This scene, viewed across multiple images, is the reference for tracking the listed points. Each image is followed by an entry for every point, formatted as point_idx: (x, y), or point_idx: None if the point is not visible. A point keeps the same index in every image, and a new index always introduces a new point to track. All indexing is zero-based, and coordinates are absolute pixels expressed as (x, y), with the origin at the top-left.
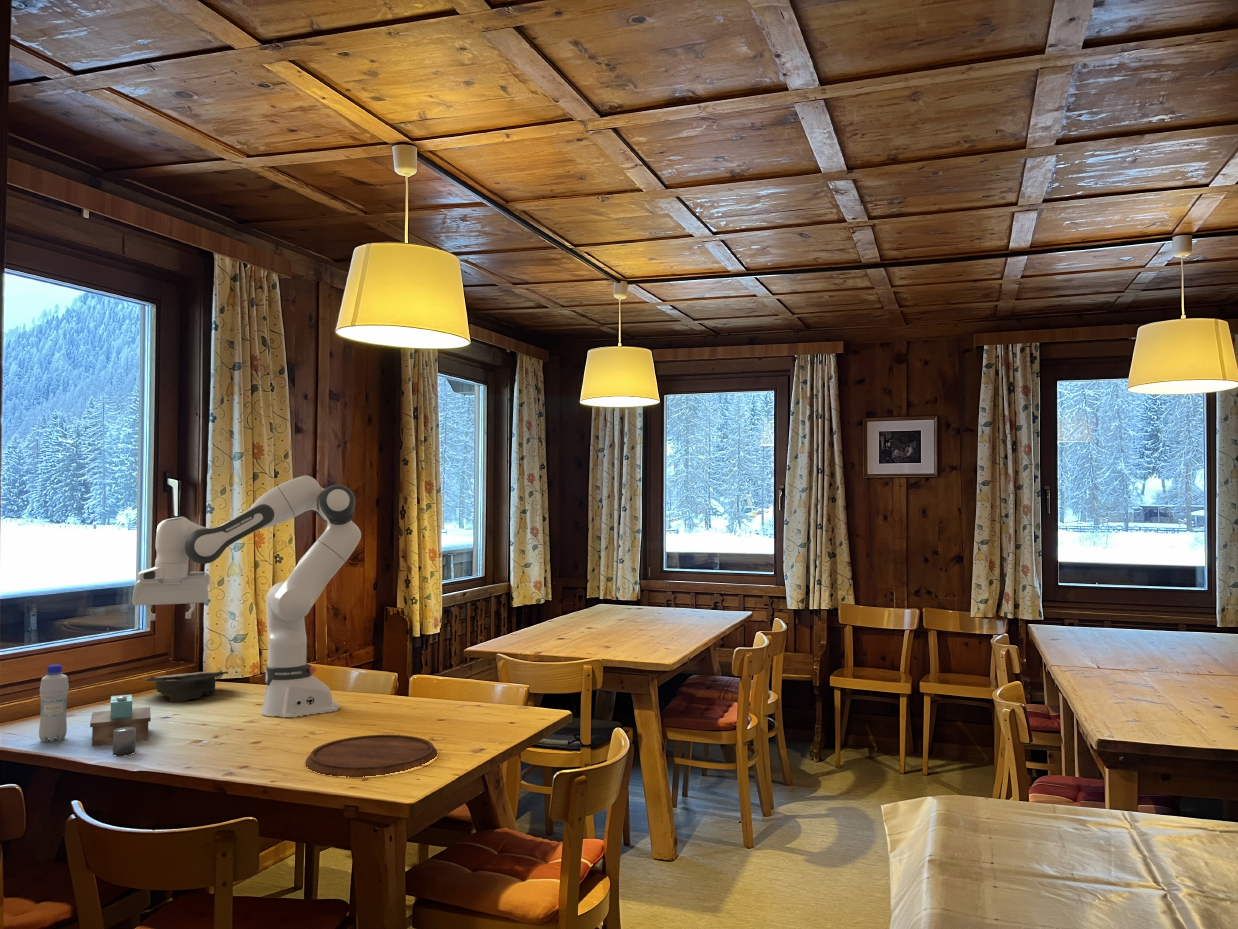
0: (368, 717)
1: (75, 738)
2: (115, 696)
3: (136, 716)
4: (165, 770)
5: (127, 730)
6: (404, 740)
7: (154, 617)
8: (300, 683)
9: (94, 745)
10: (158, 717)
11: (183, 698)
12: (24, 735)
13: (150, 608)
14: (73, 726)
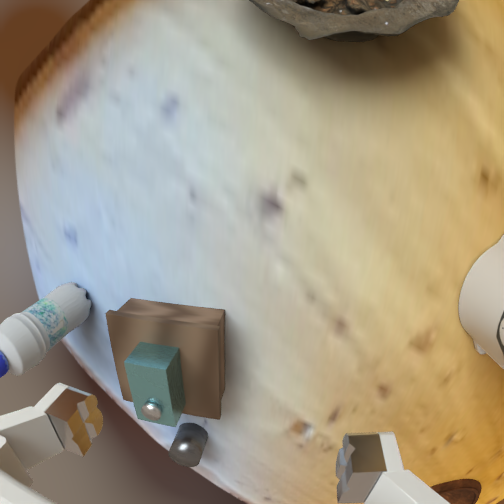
0: None
1: (107, 307)
2: (133, 370)
3: (193, 399)
4: (243, 497)
5: (188, 463)
6: (468, 498)
7: (88, 439)
8: None
9: None
10: (253, 196)
11: (327, 37)
12: (37, 236)
13: (29, 479)
14: (89, 201)
